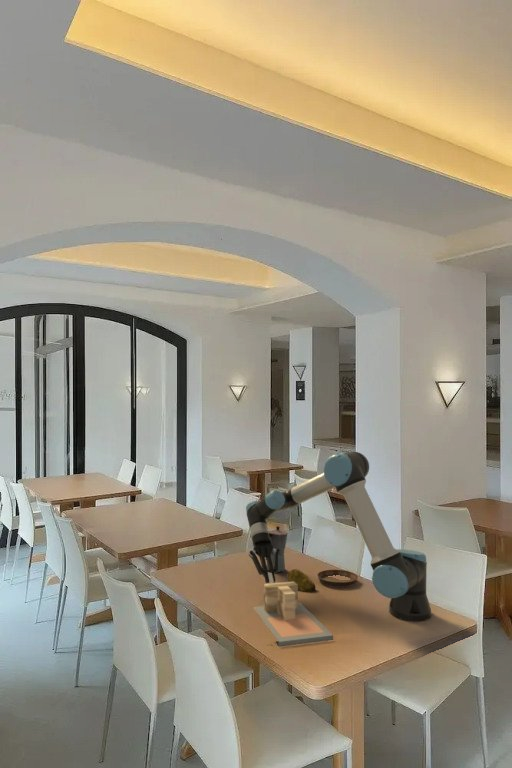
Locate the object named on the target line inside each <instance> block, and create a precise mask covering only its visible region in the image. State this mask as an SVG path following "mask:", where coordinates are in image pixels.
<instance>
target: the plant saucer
mask: <svg viewBox="0 0 512 768" xmlns="http://www.w3.org/2000/svg"><path fill="white" fill-rule="evenodd" d="M333 575H335V576H336V575H340V576H345V577H348V578H350V580H339V579H336V578H333V577H328V576H333ZM316 576H317V578H318V580H319V581H320V582H321V583H322V584H324V585H325V586H329V587H333V588H347V587H351V586H352V585H354V584H355V583H356V582H357V580H358V578H359V576H358V574H357V573H354V572H352V571H349V570H343V569H326V570H321V571H319V572H318V573H317V574H316Z"/></svg>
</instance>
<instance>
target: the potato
mask: <svg viewBox="0 0 512 768" xmlns="http://www.w3.org/2000/svg"><path fill="white" fill-rule="evenodd" d="M286 579H287V582H295V583H296V584H297V585H298V591H301V592H306V593H307V592H308V593H309V592H310V593H312V592H315V591H316V584H315V582H314V581H313V580H312V579H311V578H310V577H309V576H308V575H307V574H306V573H305V572H303V571H302V570H300V569H298V568H295V569H292V570H289V571H288V572H287V575H286Z"/></svg>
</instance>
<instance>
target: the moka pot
mask: <svg viewBox="0 0 512 768" xmlns="http://www.w3.org/2000/svg"><path fill="white" fill-rule="evenodd" d="M268 531H269V535H270V539H271V544H272V546H273V547H274V548H275V549H279V550H280V551H279V553H278V571H277V573H282V572H285V571H286V564H285V549H286V545H287V539H288V533H289V532H287V531H286V530H281V529H280V526H276V529H271V530H268ZM271 560H272V565H273V569H274V554H273V551H272V553H271ZM266 566H267V570H268V571H269V569H268V564H267V563H266Z"/></svg>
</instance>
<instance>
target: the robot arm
mask: <svg viewBox="0 0 512 768" xmlns="http://www.w3.org/2000/svg"><path fill="white" fill-rule="evenodd" d="M369 471H370V463H369V460H368V458H367V457H366V456H365V455H364V454H363V453H362V452H361V453H360V452H358V451H349V452H338V453H335V454H333V455H330V456H329V457H328V458H327V459H326V461H325V462H324V466H323V472H322V473H320V474H318V475H316V476H314V477H312V478H310V479H308V480H305V481H303V482H301V483H299V484H297V485H295V486H293V487H292V488H290V489H287V490H285V491H282V492H281V491H280V490H277V489H274V490H272V491H270V492H268V493H267V494H266V495H265V496H264V497H263V498H262V499H260V501H259V500H254V501H253V500H252V502H249V503H247V505H246V506H245V510H246V511H245V512H246V518H247V522H248V526H249V531H250V536H251V541H252V547H253V549H252V550H249V553H248V556H249V557H250V558H251V560H252V561H253V564H254V566H255V568H256V570H257V573H258V575H260V576H261V575H262V576H263V578H264V582H265V584H271V583H276V576H275V575H276V574H277V573H278V572H277V571H278V553H279V551H280V550H279V549H275V548H274V547H273V546H272V544H271V539H270V535H269V531H270V530H269V527H268V523H267V519H268V518H270V517H272V515H274V513H275V514H276V513H277V512H280V511H284V510H288V509H293V508H296V507H298V506H299V505H300V504H302V503H305V502H307V501H309V500H311V499H313V498H315V497H318V496H320V495H322V494H325V493H327V492H329V491H331V490H333V489H335V490H336V492H337V494H339V495H341V496H343V497H344V500H345V502H346V503H347V506H348V508H349V510H350V513H351V515H352V516H353V519H354V522H355V524H356V525H357V528H358V530H359V532H360V534H361V537H362V539H363V541H364V543H365V546H366V547H367V550H368V551H369V554H370V556H371V560H370V566H371V569H372V570H373V571H372V576H371V580H372V584H373V587H374V588H375V589H376V591H377V592H378V593H379V594H380V595H381V596H383V597H385V598H387V599H390V601H389V606H388V609H389V610H388V612H389V613H390V614H391V615H392V616H393V617H395V618H398V619H400V620H404V621H410V622H422V621H428V620H430V618H432V609H431V605H430V601H429V599H428V596H427V595H428V594H427V568H428V567H427V566H428V565H427V564H428V562H427V556H426V554H424V552H421V551H418V550H412V549H401V548H400V549H399V548H398V549H396V548H395V547H394V546H393V543H392V542H391V540H390V538H389V534H388V533H387V531H386V529H385V527H384V524H383V522H382V520H381V518H380V516H379V514H378V512H377V510H376V507H375V506H374V504H373V502H372V499H371V497H370V495H369V493H368V490H367V489H366V483H367V479H366V477H367V476H368V474H369ZM272 551H273V554H274V569H273V565H272V560H271V553H272ZM258 557H259V558H258ZM267 564H268V569H269V570H267Z"/></svg>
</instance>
